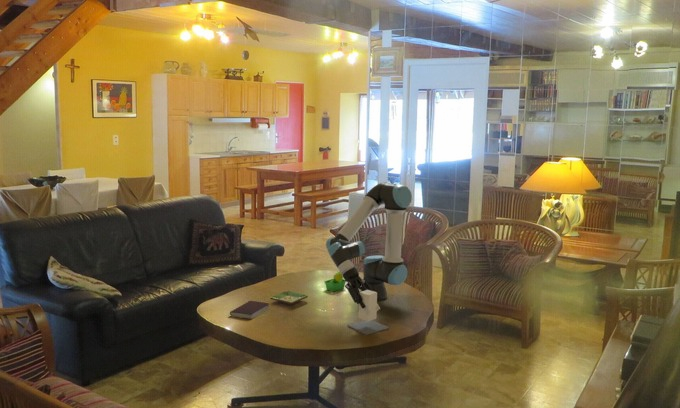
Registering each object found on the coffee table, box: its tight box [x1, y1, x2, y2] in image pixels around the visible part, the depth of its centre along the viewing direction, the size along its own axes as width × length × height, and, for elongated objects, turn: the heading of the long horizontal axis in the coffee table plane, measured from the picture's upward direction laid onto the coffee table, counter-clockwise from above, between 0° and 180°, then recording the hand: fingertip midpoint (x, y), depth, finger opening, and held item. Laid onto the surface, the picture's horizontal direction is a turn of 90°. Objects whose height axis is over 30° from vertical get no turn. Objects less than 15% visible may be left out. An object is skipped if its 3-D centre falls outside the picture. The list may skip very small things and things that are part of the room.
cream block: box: [358, 290, 378, 322], centre depth 281 cm, size 6×6×13 cm
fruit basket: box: [324, 270, 347, 292], centre depth 342 cm, size 11×9×11 cm
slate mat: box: [347, 320, 390, 336], centre depth 283 cm, size 14×14×1 cm
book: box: [229, 300, 270, 320], centre depth 303 cm, size 12×19×3 cm, turn 158°
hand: (373, 311), depth 279 cm, fingers closed on cream block, 6 cm apart
